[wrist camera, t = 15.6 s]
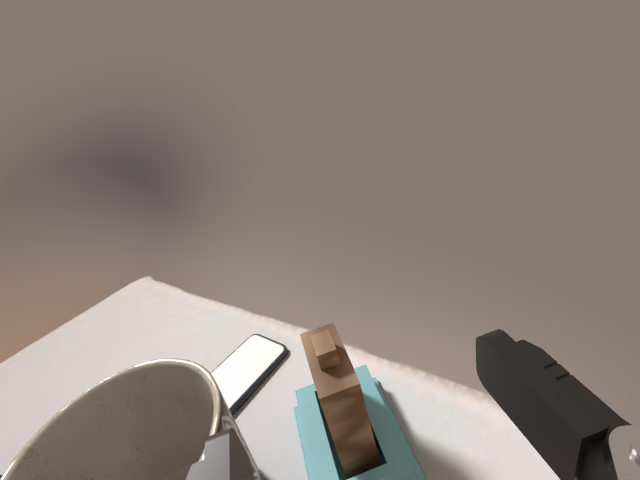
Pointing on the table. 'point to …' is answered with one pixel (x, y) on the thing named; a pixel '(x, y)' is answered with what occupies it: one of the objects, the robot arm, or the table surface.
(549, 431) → the robot arm
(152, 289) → the table surface
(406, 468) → the teal rack
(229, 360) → the phone case
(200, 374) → the planter
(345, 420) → the brown wooden bottle
